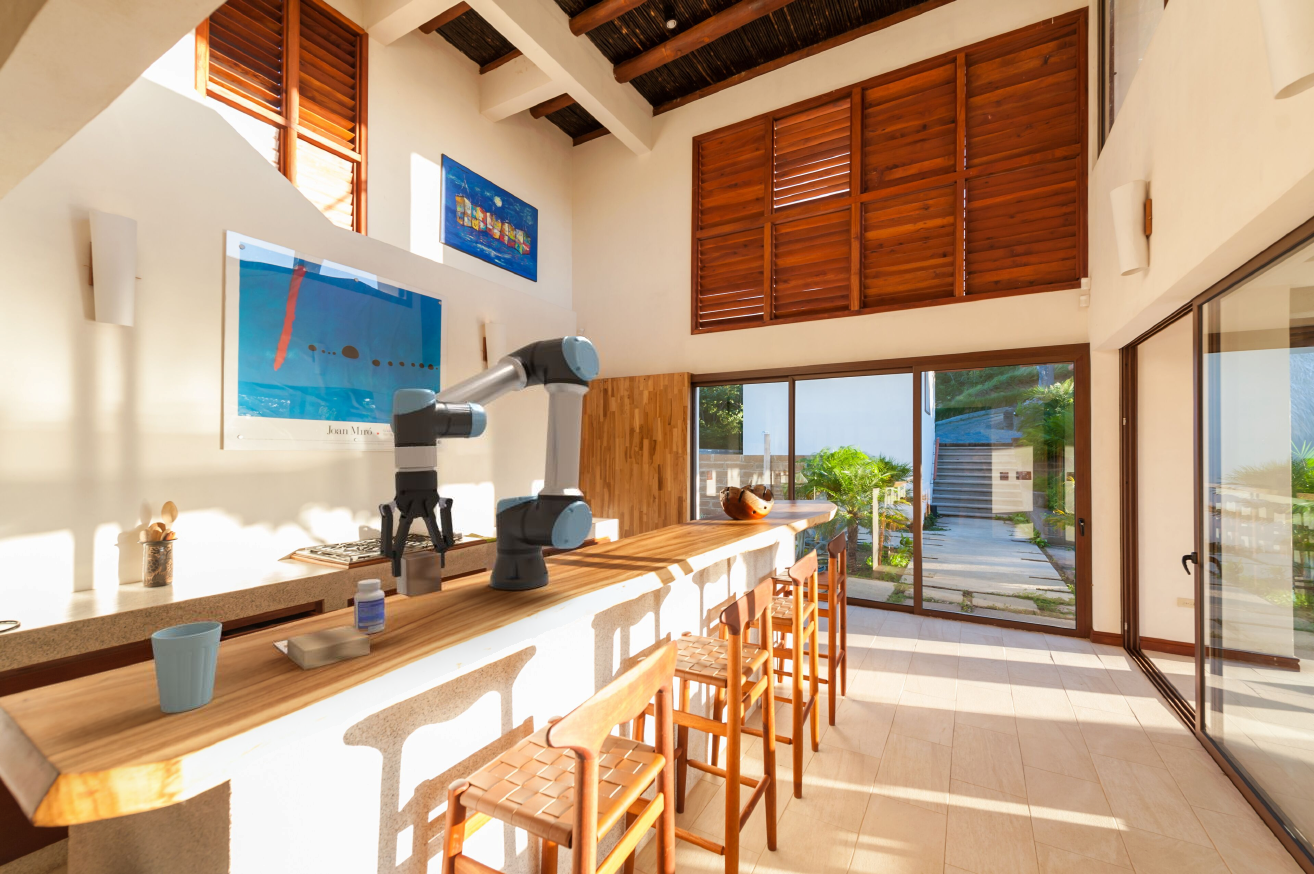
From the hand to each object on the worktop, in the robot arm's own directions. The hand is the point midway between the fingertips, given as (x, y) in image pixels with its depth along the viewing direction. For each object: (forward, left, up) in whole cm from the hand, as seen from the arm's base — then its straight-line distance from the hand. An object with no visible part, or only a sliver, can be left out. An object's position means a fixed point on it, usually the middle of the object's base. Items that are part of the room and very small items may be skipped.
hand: (419, 589), depth 110 cm
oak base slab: (+16, -1, -9) cm, 18 cm away
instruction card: (+16, -11, -9) cm, 21 cm away
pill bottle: (+6, -10, -9) cm, 14 cm away
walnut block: (0, 0, 0) cm, 0 cm away
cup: (+36, +6, -9) cm, 37 cm away
